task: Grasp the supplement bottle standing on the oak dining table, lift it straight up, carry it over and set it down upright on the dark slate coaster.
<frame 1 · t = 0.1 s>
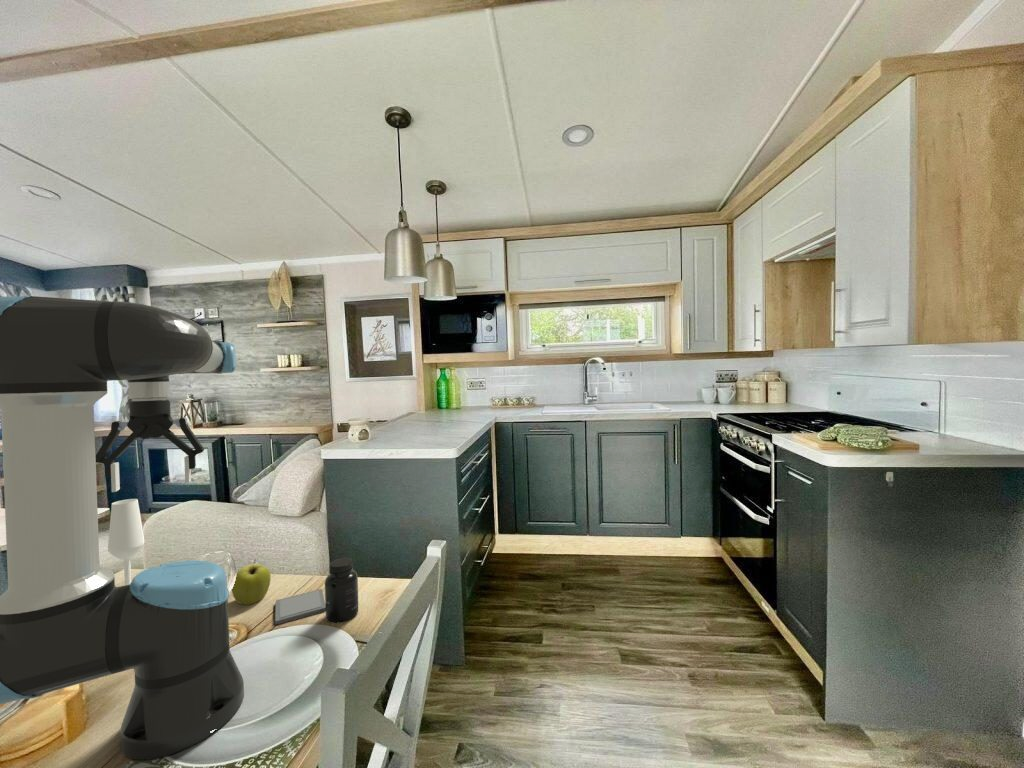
hand: (153, 486, 100), 28 cm above the table, fingers open, 13 cm apart
champagne flute: (128, 598, 103), on the table
slate coaster: (300, 607, 96), on the table
apple: (252, 601, 99), on the table
supplement bottle: (342, 616, 92), on the table
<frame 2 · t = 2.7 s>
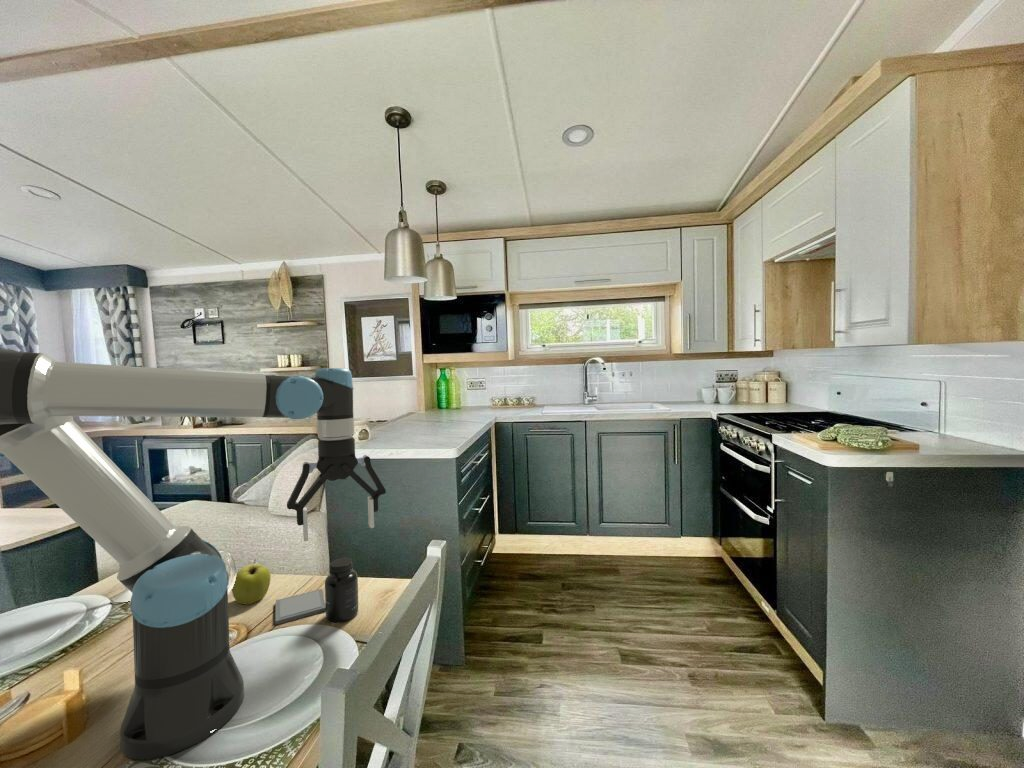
hand: (339, 532, 92), 19 cm above the table, fingers open, 13 cm apart
nothing on the table moved.
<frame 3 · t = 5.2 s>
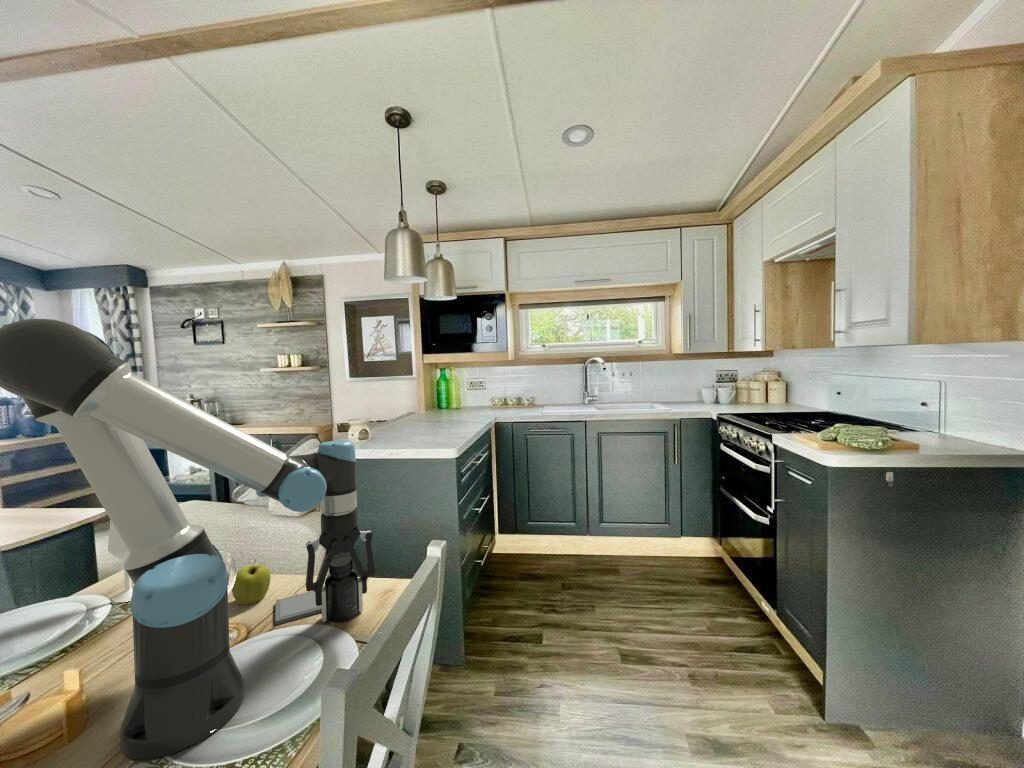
hand: (342, 612, 92), 1 cm above the table, fingers closed on supplement bottle, 7 cm apart
supplement bottle: (342, 616, 92), on the table, touching gripper
everything else where it was.
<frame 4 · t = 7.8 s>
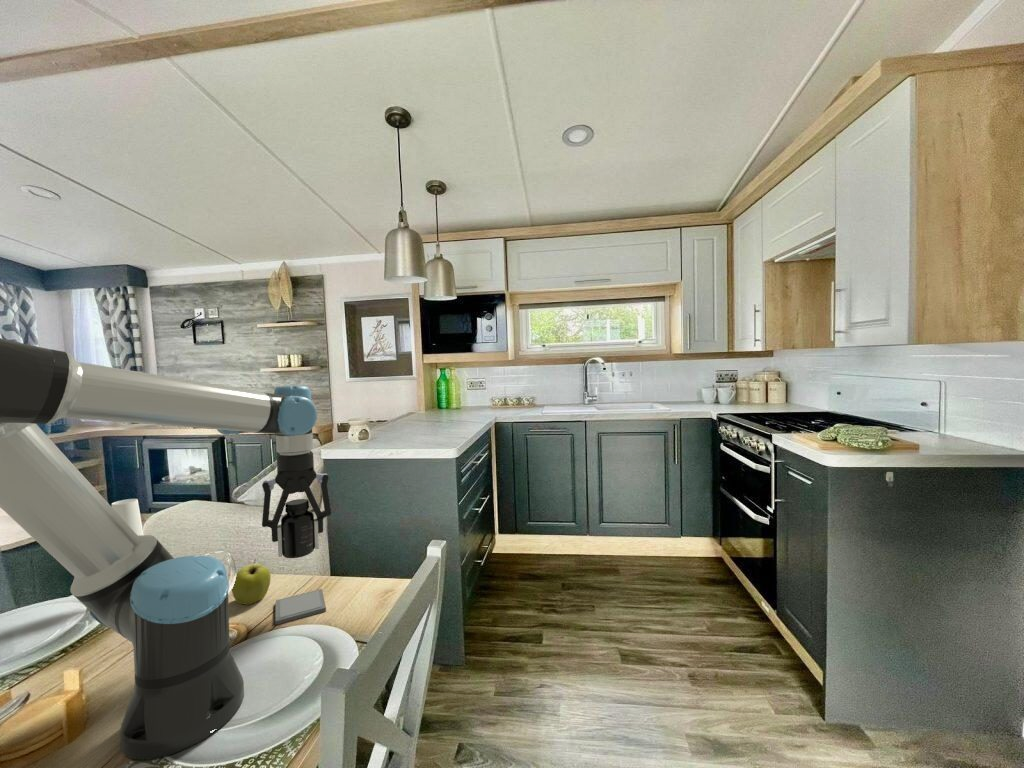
hand: (298, 550, 96), 13 cm above the table, fingers closed on supplement bottle, 7 cm apart
supplement bottle: (299, 553, 96), point 12 cm above the table, touching gripper
everything else where it was.
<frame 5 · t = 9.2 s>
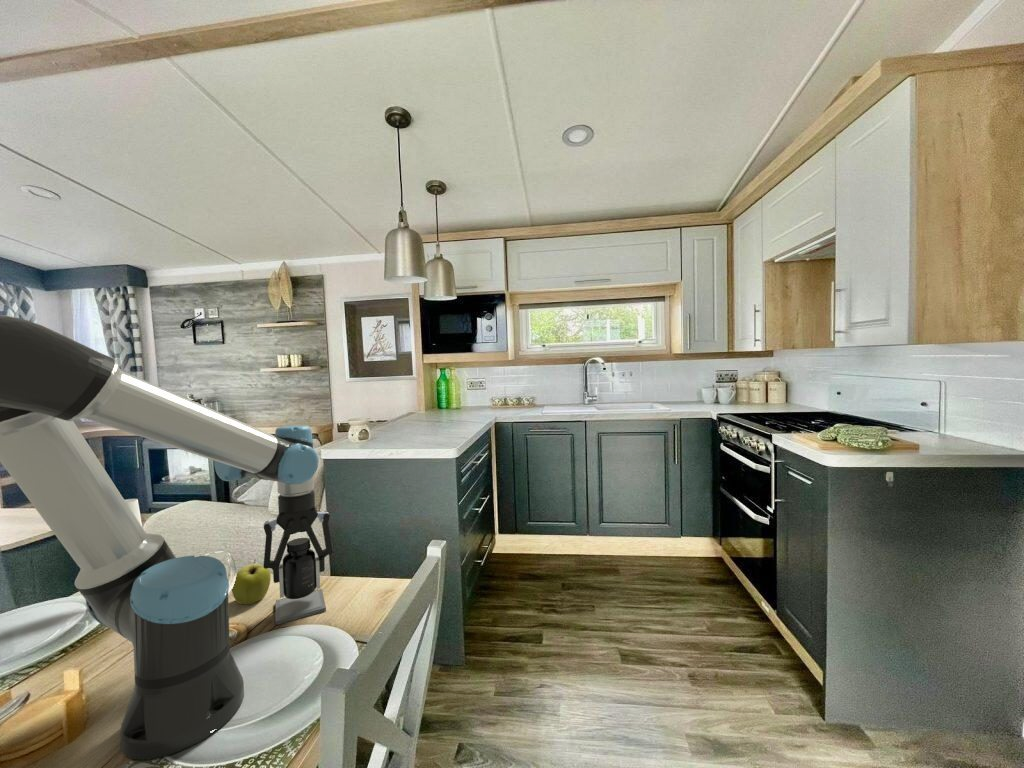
hand: (300, 590, 96), 4 cm above the table, fingers closed on supplement bottle, 7 cm apart
supplement bottle: (300, 593, 96), point 3 cm above the table, touching gripper
everything else where it was.
when the fingers open (2 cm above the table, at t = 10.3 s): supplement bottle moves 1 cm, resting on slate coaster.
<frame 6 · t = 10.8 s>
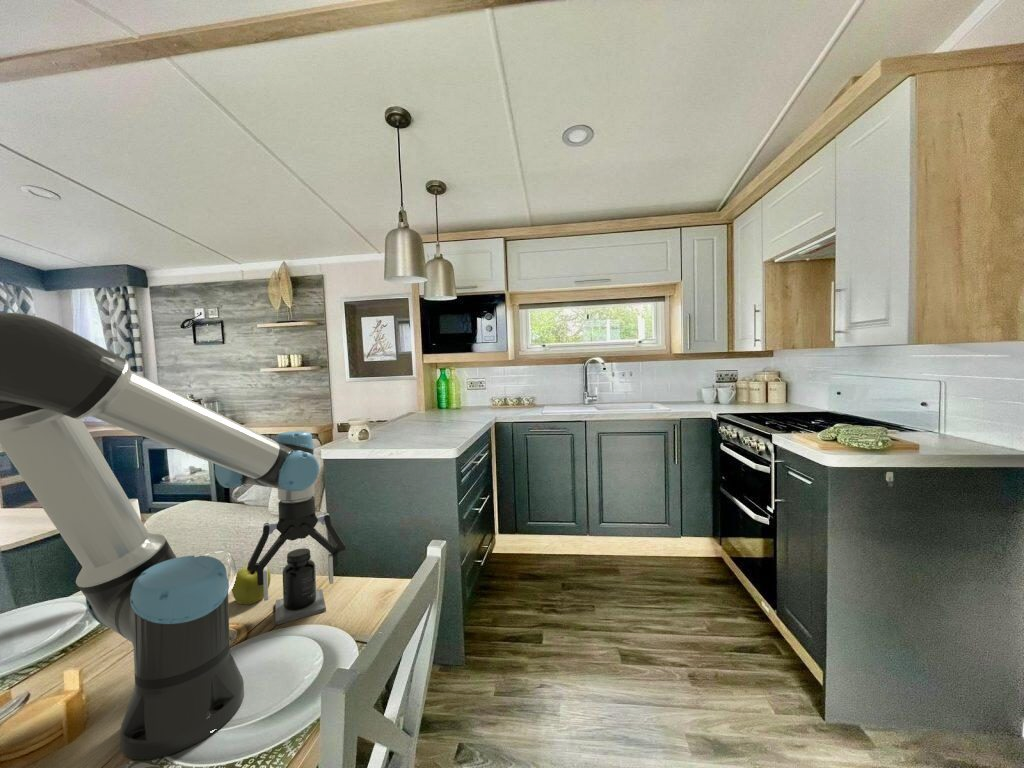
hand: (299, 589, 96), 4 cm above the table, fingers open, 13 cm apart
supplement bottle: (300, 604, 96), point 1 cm above the table, touching slate coaster
everything else where it was.
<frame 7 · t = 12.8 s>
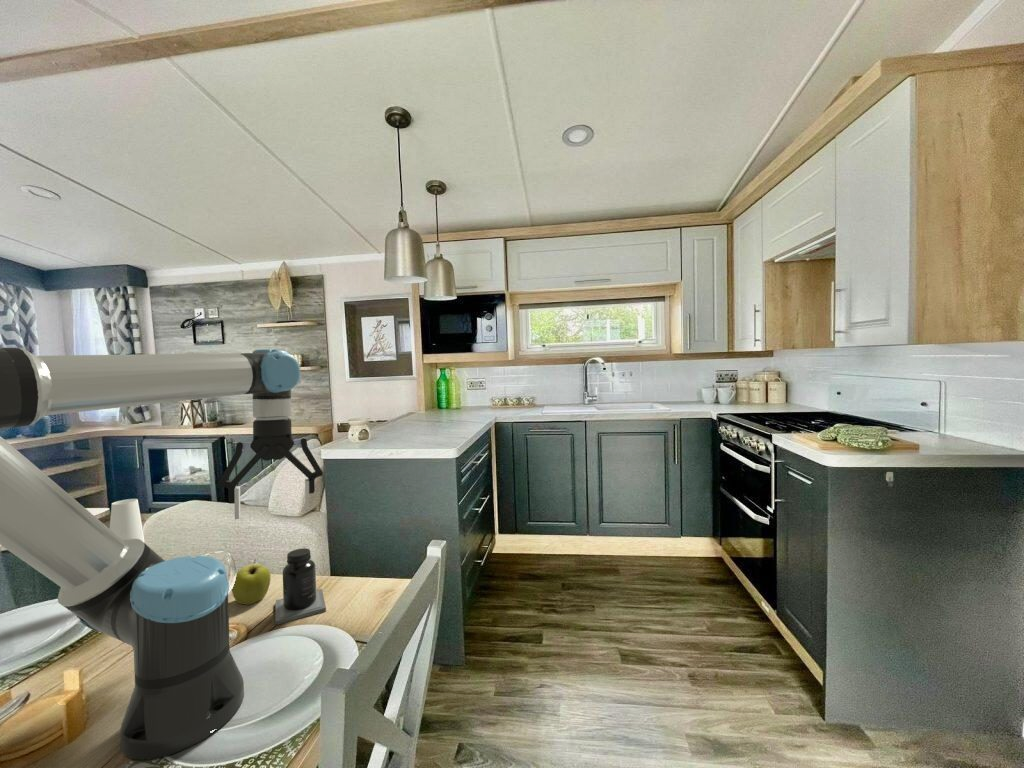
hand: (273, 512, 93), 23 cm above the table, fingers open, 13 cm apart
nothing on the table moved.
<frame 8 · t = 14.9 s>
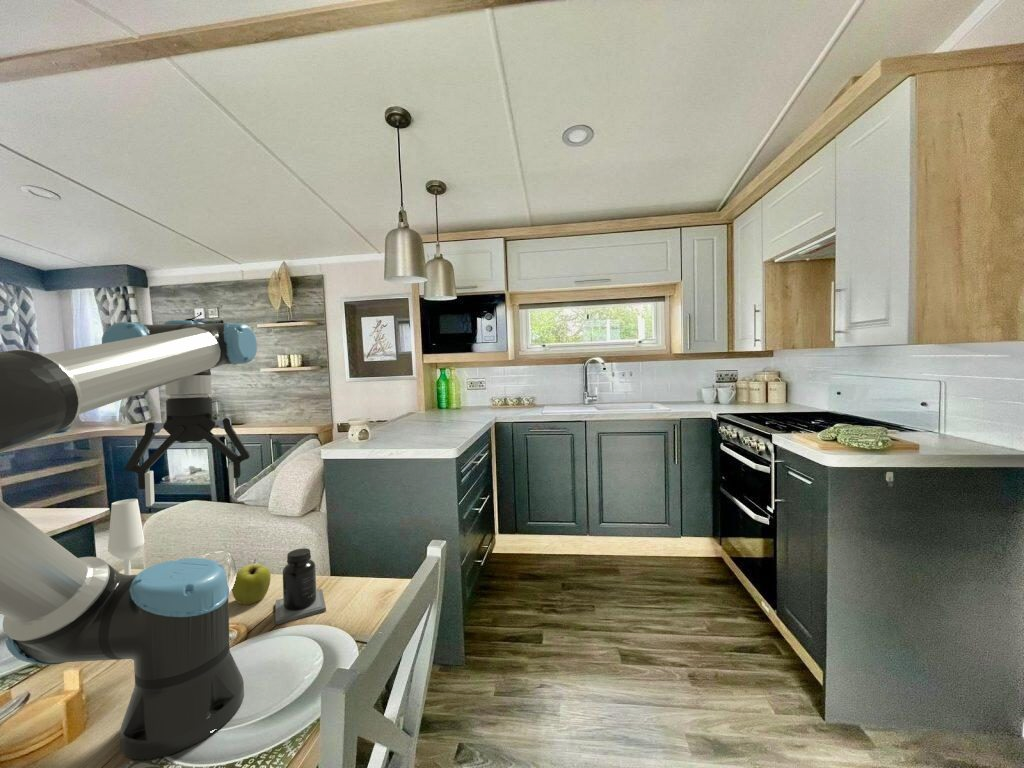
hand: (193, 499, 85), 29 cm above the table, fingers open, 13 cm apart
nothing on the table moved.
at the end: supplement bottle inside the target area on the slate coaster (0.0 cm from its centre), point 0.7 cm above the slate coaster's base; supplement bottle tilted 0°; the gripper is holding nothing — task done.
